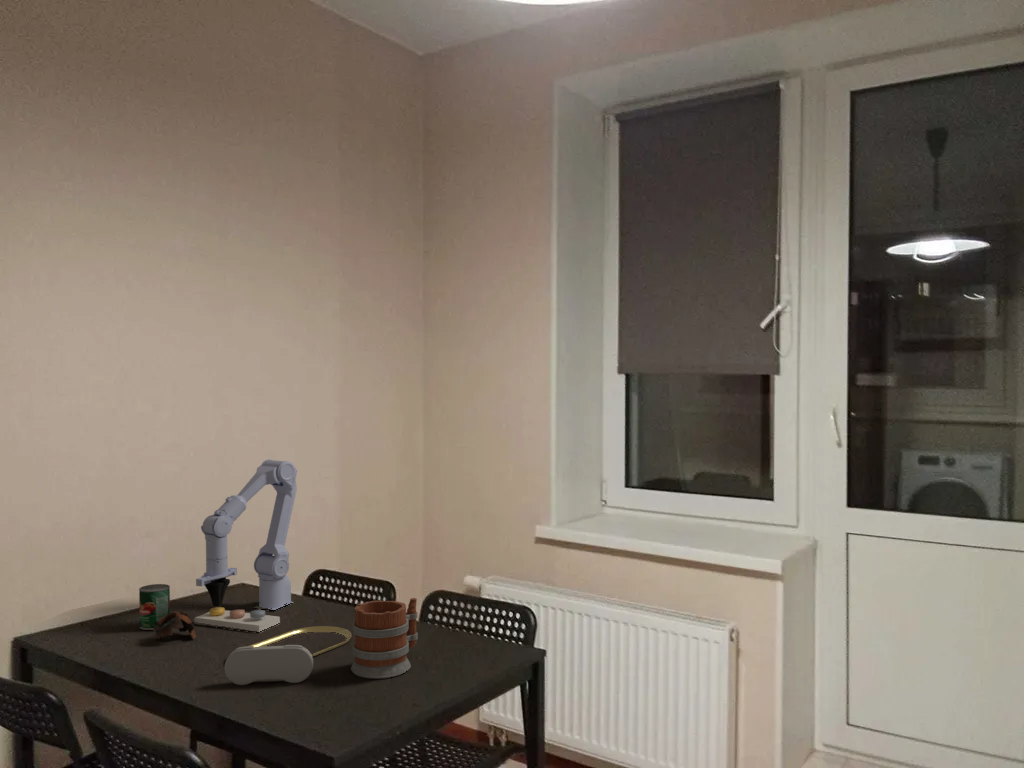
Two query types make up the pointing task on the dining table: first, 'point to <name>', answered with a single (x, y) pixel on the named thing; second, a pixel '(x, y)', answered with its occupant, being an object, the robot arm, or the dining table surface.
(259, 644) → the u-shaped metal loop
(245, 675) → the game controller
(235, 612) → the button terracotta
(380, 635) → the mug
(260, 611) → the button slate
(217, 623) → the button panel
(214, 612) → the button amber
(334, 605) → the dining table surface
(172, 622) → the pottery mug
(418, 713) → the dining table surface
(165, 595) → the canned tomato
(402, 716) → the dining table surface
